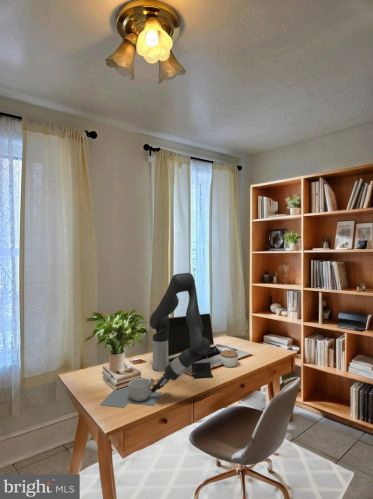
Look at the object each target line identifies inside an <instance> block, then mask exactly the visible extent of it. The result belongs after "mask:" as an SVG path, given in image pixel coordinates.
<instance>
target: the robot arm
mask: <svg viewBox="0 0 373 499" xmlns="http://www.w3.org/2000/svg"><path fill="white" fill-rule="evenodd" d="M182 292H187V293H188V304H187V307H186V312H185V320H186V324H187V328H188V330H189V344H190V347H188V348H186V349H184V350H183V351H182V352H181V353H180V354H179V355H178V356H176V357H175V358H174V359H172V361H171V362H169V333H170V332H169V331H170V316H169V315H171V314H172V313H174V312H175V310H176V309H177V307H178V306H179V297H178V295H177V294H179V293H182ZM197 293H198V292H197V288H196V280H195V278H194V276H193V274H192V273H190V272H183V273H182V272H181V273H176V274H174V275H173V276H172V277H171V279H170V281H169V284H168V287H167V289H166V291H165V293H164V294H163V296H162V297H161V300H160V302H159V304H158V305H157V307H156V309H155V310H154V311H153V312H152V313H151V315H150V318H149V326H150V328H151V329H153V330H159V331H157V332H156V333H154V334H153V335H152V370H154V371H155V372H156V371H157V372H163V371H164V373H163V374H162V376H161V377H160V378H159V379H158V381H157V382H155V384H153V385H152V387H151V391H152V392H153V393H154V392H157V390H158V391H159V390H160V389H162V388H164V386H165V385H167V384H169V382H170V380H172V381H176V380H177V379H179V378H180V377H181V376H182V375H183V374H184V373H186V371H187V370H188V368H190V366H192V364H193V363H195V361H197V360H198V359H200V358H201V357H203V356H204V355H206V354H207V352H208V351H209V350H210V347H211V342H210V340H209V339H208V338H207V337H204V336H203V330H204V324H203V321H202V317H201V313H200V308H199V302H198V294H197Z"/></svg>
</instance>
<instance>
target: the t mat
mask: <svg viewBox="0 0 373 499" xmlns="http://www.w3.org/2000/svg"><path fill="white" fill-rule="evenodd" d="M110 392H111V393H109V394H108V395H107V396H106V398H104V399H103V401H102V402H101V403H100V404H99V406H106V407H107V406H108V407H114V408H120V409H121V408H122V409H123V408H125V407H126V406H127V405H128V404H132V405H133V404H134V405H143V406H152V407H155V405H156V404H157V403H158V401H159V399H160V397H161V396H162V394H163V392H162V391H161V392H160V391H155V392H154V393H153V392H152V391H151V394H150V396H149V397H148V398H147V399H146V400H143V401H135V400H133V399H132V398H131V397H130V394H129V386H128V387H125V388H122V389H119V390H114V389H113V390H112V391H110Z"/></svg>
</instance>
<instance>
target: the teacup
mask: <svg viewBox="0 0 373 499" xmlns="http://www.w3.org/2000/svg"><path fill="white" fill-rule="evenodd" d="M154 383H155V381H154V378H153V377H149V378H145V377H138V378H134V379H132V380H130V381H129V382H128V384H127V385H129V394H130V397H131V398H132V399H133V400H135V401H143V400H146V399H147V398H148V397H149V396H150V394H151V389H152V387H153V386H154Z"/></svg>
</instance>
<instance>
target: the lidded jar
mask: <svg viewBox="0 0 373 499" xmlns="http://www.w3.org/2000/svg"><path fill="white" fill-rule="evenodd" d="M238 360H239V352H238V351H236V350H231V349H224V350H222V351H220V361H221V363H222V365H223V366H224V367H225V368H234V367H235V366H236V365H237V363H238Z"/></svg>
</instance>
